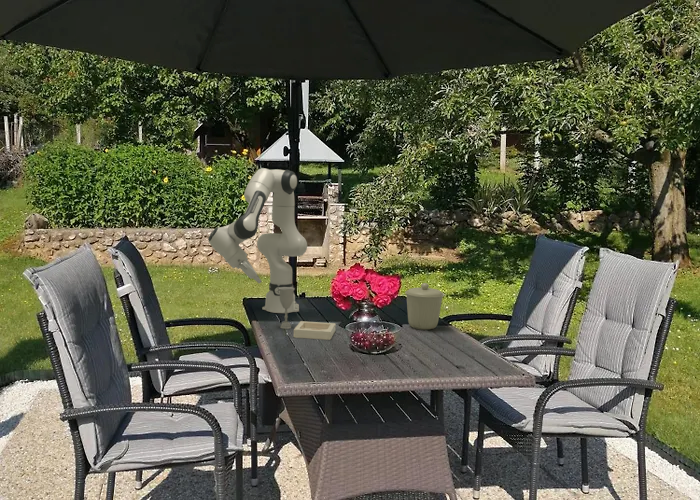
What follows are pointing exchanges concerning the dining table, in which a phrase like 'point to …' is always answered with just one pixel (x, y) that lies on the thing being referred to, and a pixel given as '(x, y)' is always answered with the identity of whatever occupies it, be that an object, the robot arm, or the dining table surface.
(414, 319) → the canister
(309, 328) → the tray
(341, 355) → the dining table surface
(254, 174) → the robot arm
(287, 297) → the chalice
